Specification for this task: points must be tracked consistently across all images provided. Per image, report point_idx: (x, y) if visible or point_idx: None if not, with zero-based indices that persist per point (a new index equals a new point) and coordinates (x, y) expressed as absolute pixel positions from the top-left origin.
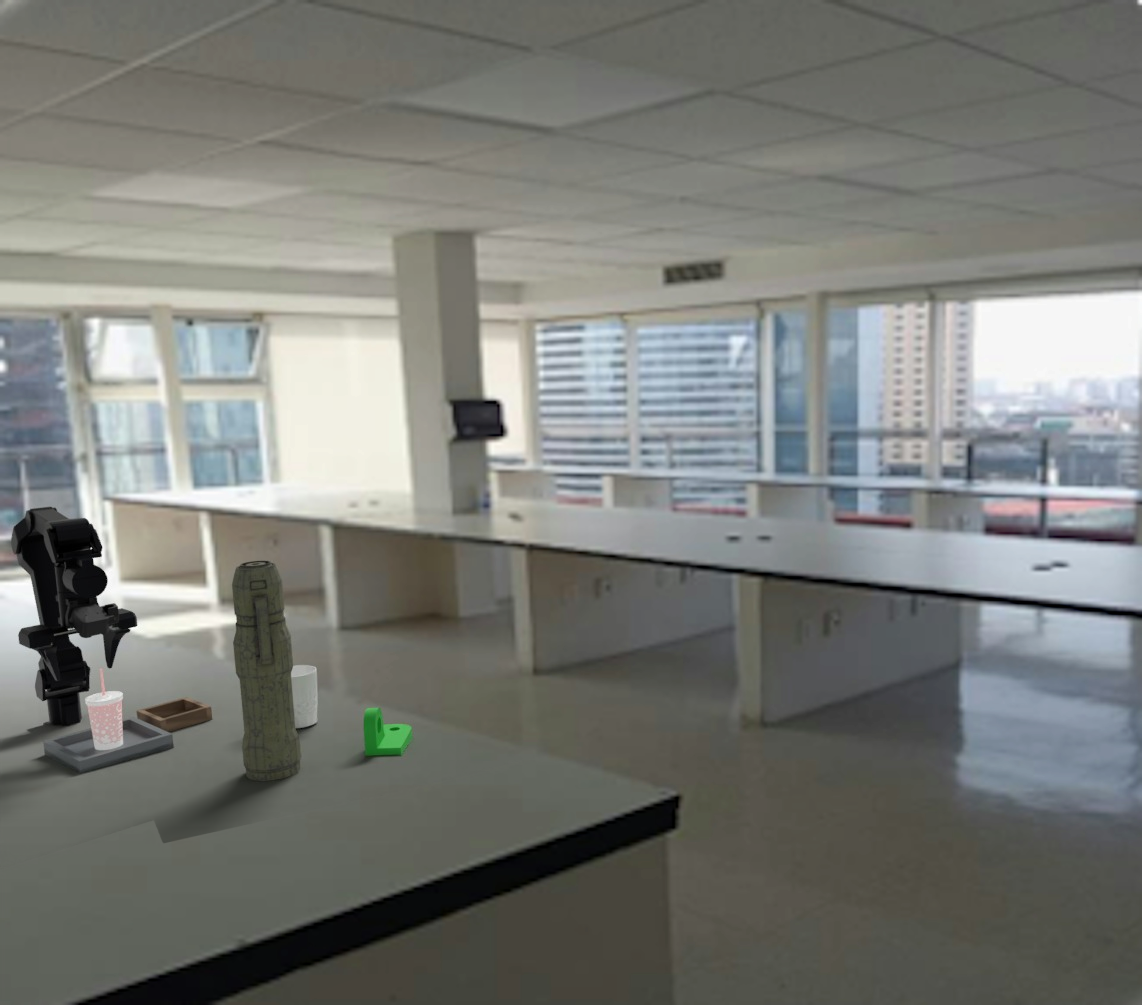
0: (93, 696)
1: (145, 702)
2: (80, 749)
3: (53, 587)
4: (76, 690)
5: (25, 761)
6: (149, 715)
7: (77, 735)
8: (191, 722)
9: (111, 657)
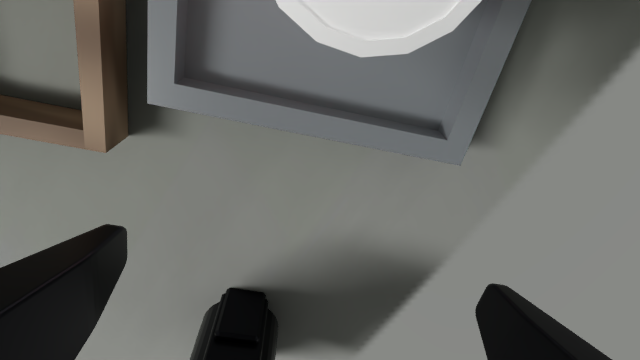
0: (400, 20)
1: None
2: None
3: None
4: None
5: (501, 149)
6: (96, 46)
7: (368, 121)
8: None
9: (49, 268)
